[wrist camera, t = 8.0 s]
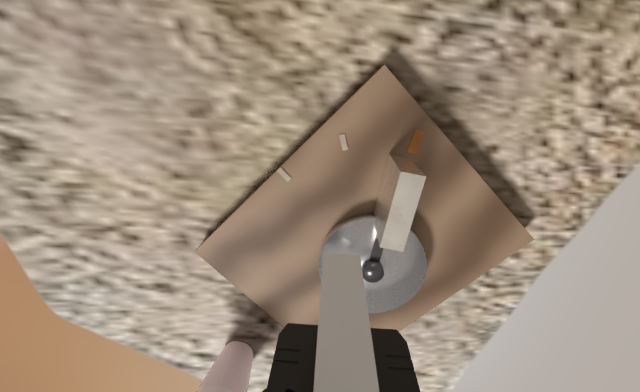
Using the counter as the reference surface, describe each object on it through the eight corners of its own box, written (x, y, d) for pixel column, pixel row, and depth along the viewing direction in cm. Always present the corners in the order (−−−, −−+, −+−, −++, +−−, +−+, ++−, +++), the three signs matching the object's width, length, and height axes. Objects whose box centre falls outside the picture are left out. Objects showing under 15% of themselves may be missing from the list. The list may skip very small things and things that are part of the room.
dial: (342, 144, 28) (342, 160, 22) (455, 167, 28) (484, 187, 22) (311, 292, 33) (305, 335, 27) (407, 311, 33) (420, 358, 27)
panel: (202, 242, 35) (194, 251, 33) (381, 66, 28) (384, 64, 26) (337, 359, 39) (337, 374, 37) (522, 230, 32) (534, 239, 30)
